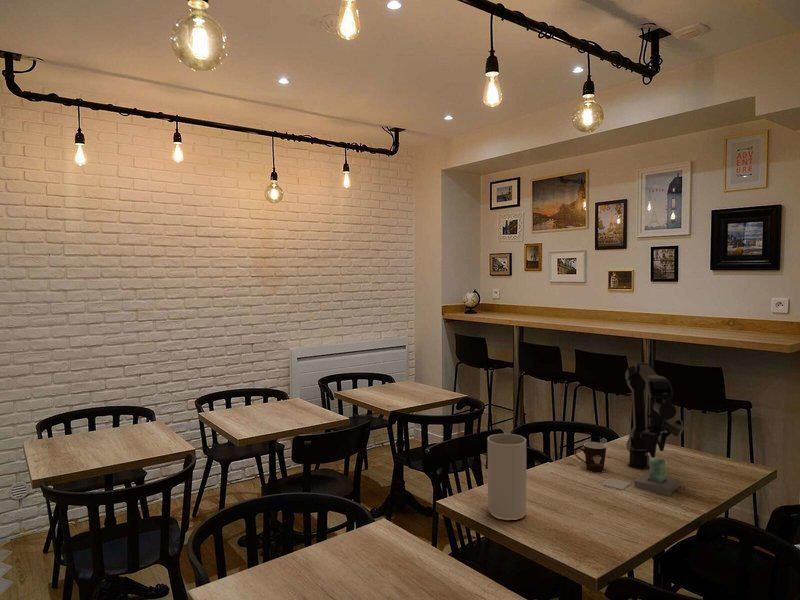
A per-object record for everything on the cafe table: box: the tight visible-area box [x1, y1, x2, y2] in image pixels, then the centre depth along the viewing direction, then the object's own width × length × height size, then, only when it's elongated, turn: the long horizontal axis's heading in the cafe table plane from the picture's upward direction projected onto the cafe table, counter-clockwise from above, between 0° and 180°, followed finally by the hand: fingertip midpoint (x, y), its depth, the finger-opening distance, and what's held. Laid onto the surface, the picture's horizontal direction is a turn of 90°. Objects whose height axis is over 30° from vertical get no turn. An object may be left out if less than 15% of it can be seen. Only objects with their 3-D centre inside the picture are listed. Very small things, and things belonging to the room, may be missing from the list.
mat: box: [600, 477, 632, 491], centre depth 205 cm, size 8×8×1 cm
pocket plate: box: [633, 471, 681, 497], centre depth 202 cm, size 12×12×2 cm
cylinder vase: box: [487, 433, 528, 518], centre depth 181 cm, size 12×12×25 cm
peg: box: [649, 457, 666, 484], centre depth 202 cm, size 4×4×10 cm
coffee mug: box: [574, 441, 608, 473], centre depth 222 cm, size 12×9×10 cm
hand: (657, 454), depth 202 cm, fingers open, 9 cm apart
